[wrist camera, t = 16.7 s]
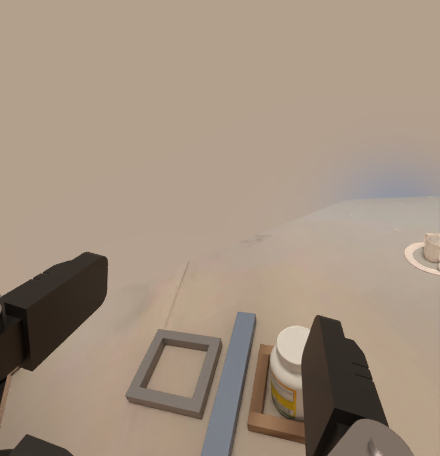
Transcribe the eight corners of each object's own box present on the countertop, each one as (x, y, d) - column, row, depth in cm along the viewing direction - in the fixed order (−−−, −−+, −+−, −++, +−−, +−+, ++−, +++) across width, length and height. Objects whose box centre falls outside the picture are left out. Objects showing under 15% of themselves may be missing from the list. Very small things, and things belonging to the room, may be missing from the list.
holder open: (129, 402, 34) (125, 395, 33) (161, 335, 41) (158, 329, 40) (201, 419, 31) (199, 412, 30) (222, 345, 38) (220, 338, 37)
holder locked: (248, 430, 29) (247, 423, 29) (261, 351, 37) (260, 344, 36) (343, 453, 27) (344, 446, 26) (337, 362, 34) (338, 355, 33)
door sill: (225, 481, 26) (223, 476, 25) (200, 474, 27) (197, 468, 26) (256, 320, 40) (255, 313, 40) (238, 318, 41) (237, 311, 40)
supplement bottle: (272, 421, 30) (268, 371, 25) (270, 371, 34) (267, 319, 29) (327, 424, 29) (335, 373, 24) (317, 372, 33) (323, 319, 28)
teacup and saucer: (475, 284, 41) (486, 262, 39) (411, 278, 43) (417, 257, 41) (454, 246, 48) (462, 226, 45) (399, 243, 50) (404, 223, 48)
